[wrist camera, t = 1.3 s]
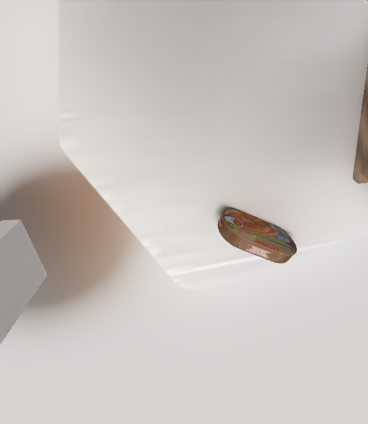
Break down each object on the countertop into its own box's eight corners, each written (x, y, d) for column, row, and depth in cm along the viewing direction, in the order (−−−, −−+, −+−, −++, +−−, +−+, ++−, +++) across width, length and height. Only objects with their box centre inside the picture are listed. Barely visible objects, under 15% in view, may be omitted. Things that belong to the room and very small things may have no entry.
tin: (290, 231, 58) (304, 259, 51) (281, 243, 60) (293, 272, 53) (221, 202, 56) (225, 227, 48) (213, 215, 57) (216, 241, 50)
